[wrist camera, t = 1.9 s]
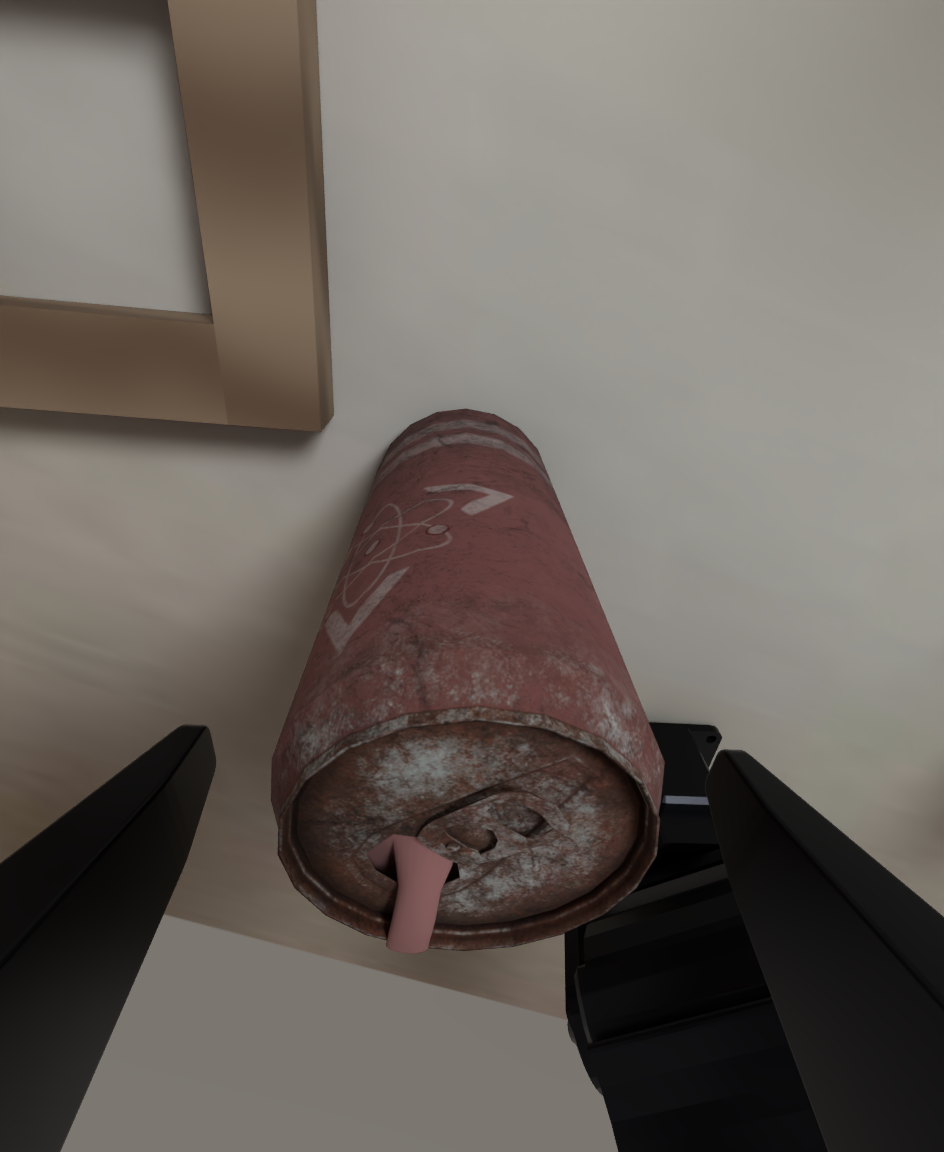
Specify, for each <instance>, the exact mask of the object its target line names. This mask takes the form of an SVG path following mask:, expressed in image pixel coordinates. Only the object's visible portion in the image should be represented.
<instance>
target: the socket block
mask: <svg viewBox="0 0 944 1152" xmlns="http://www.w3.org/2000/svg"><path fill="white" fill-rule="evenodd" d="M168 7H169V14H170V21H171V28H172V35H173V42H174V49H175V56H176V63H177V70H178V77H179V84H180V91H181V98H182V105H183V112H184V119H185V126H186V133H187V140H188V147H189V154H190V161H191V168H192V175H193V182H194V189H195V196H196V203H197V210H198V217H199V224H200V231H201V238H202V245H203V252H204V259H205V266H206V273H207V280H208V287H209V294H210V301H211V308H212V315H209V314H198V313H187V312H176V311H165V310H154V309H143V308H132V307H121V306H110V305H99V304H88V303H77V302H66V301H55V300H44V299H33V298H22V297H11V296H0V407H10V408H23V409H35V410H48V411H61V412H74V413H86V414H99V415H112V416H125V417H137V418H150V419H163V420H175V421H188V422H201V423H214V424H226V425H239V426H252V427H265V428H277V429H290V430H303V431H315V432H321V431H322V430H323V429H324V427H325V426H326V425H327V423H328V422H329V421H330V419H331V418H332V417H333V415H334V407H333V384H332V361H331V338H330V314H329V291H328V268H327V245H326V222H325V199H324V175H323V152H322V129H321V106H320V83H319V60H318V36H317V13H316V0H168Z"/></svg>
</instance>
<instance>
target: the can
mask: <svg viewBox="0 0 944 1152" xmlns="http://www.w3.org/2000/svg"><path fill="white" fill-rule="evenodd" d="M664 764H665V762H664V759H663V757H662V754H661V752H660V749H659V747H658V744H657V742H656V740H655V737H654V735H653V732H652V730H651V727H650V725H649V722H648V720H647V717H646V715H645V712H644V710H643V707H642V705H641V703H640V700H639V698H638V695H637V693H636V690H635V688H634V685H633V683H632V680H631V678H630V675H629V673H628V671H627V668H626V666H625V663H624V661H623V658H622V656H621V653H620V651H619V648H618V646H617V643H616V641H615V639H614V636H613V634H612V631H611V629H610V626H609V624H608V621H607V619H606V616H605V614H604V611H603V609H602V607H601V604H600V602H599V599H598V597H597V594H596V592H595V589H594V587H593V584H592V582H591V579H590V577H589V575H588V572H587V570H586V567H585V565H584V562H583V560H582V557H581V555H580V552H579V550H578V547H577V545H576V543H575V540H574V538H573V535H572V533H571V530H570V528H569V525H568V523H567V520H566V518H565V515H564V513H563V510H562V508H561V506H560V503H559V501H558V498H557V496H556V493H555V491H554V488H553V486H552V483H551V481H550V478H549V476H548V474H547V471H546V469H545V466H544V464H543V461H542V459H541V456H540V454H539V451H538V449H537V448H536V447H535V446H534V445H533V443H532V442H531V441H530V440H529V439H528V438H527V437H526V435H525V434H524V433H523V432H522V431H521V430H520V429H519V428H518V427H516V426H514V425H512V424H511V423H509V422H507V421H505V420H504V419H502V418H500V417H498V416H496V415H495V414H490V413H485V412H480V411H475V410H470V409H459V410H451V411H443V412H436V413H434V414H432V415H430V416H428V417H426V418H424V419H422V420H419V421H417V422H415V423H413V424H411V425H410V426H409V427H408V428H407V429H406V430H405V431H404V432H403V433H402V434H401V435H400V436H399V437H397V438H396V439H395V440H394V441H393V442H392V443H391V444H390V446H389V448H388V450H387V452H386V454H385V457H384V459H383V461H382V463H381V465H380V467H379V469H378V471H377V474H376V477H375V480H374V482H373V485H372V488H371V491H370V493H369V496H368V499H367V501H366V504H365V507H364V510H363V512H362V515H361V518H360V520H359V523H358V526H357V529H356V531H355V534H354V537H353V539H352V542H351V545H350V548H349V550H348V553H347V556H346V558H345V561H344V564H343V567H342V569H341V572H340V575H339V577H338V580H337V583H336V586H335V588H334V591H333V594H332V596H331V599H330V602H329V605H328V607H327V610H326V613H325V615H324V618H323V621H322V624H321V626H320V629H319V632H318V634H317V637H316V640H315V643H314V645H313V648H312V651H311V653H310V656H309V659H308V662H307V664H306V667H305V670H304V672H303V675H302V678H301V681H300V683H299V686H298V689H297V691H296V694H295V697H294V700H293V702H292V705H291V708H290V710H289V713H288V716H287V719H286V721H285V724H284V727H283V729H282V732H281V735H280V738H279V740H278V743H277V746H276V748H275V751H274V754H273V757H272V778H271V802H272V806H273V810H274V813H275V817H276V821H277V825H278V856H279V858H280V860H281V862H282V864H283V866H284V868H285V870H286V872H287V874H288V876H289V878H290V880H291V882H292V884H293V886H294V888H295V889H296V890H297V891H299V892H300V893H301V894H302V895H303V896H304V897H305V898H306V899H308V900H309V901H310V902H311V903H312V904H313V905H314V906H316V907H317V908H318V909H319V910H320V911H321V912H322V913H324V914H325V915H326V916H328V917H330V918H332V919H334V920H336V921H338V922H340V923H342V924H344V925H347V926H349V927H351V928H353V929H355V930H357V931H359V932H361V933H363V934H365V935H368V936H372V937H376V938H380V939H384V940H387V942H386V945H387V947H388V948H389V949H391V950H393V951H396V952H399V953H407V954H414V953H421V952H424V951H426V950H427V948H432V949H445V950H459V951H468V950H480V949H492V948H504V947H514V946H518V945H522V944H526V943H530V942H534V941H538V940H542V939H546V938H550V937H554V936H558V935H562V934H564V933H566V932H568V931H570V930H572V929H574V928H576V927H579V926H581V925H583V924H585V923H587V922H589V921H591V920H594V919H596V918H598V917H600V916H602V915H604V914H605V913H606V912H608V911H609V910H610V909H611V908H612V907H614V906H615V905H616V904H617V903H619V902H620V901H621V900H622V899H624V898H625V897H626V896H627V895H629V894H630V893H631V892H632V891H634V890H635V889H636V888H637V886H638V885H639V883H640V882H641V880H642V878H643V877H644V875H645V874H646V872H647V870H648V869H649V867H650V866H651V864H652V862H653V861H654V859H655V858H656V856H657V847H658V837H659V826H660V817H659V815H658V813H659V809H660V804H661V795H662V785H663V775H664Z"/></svg>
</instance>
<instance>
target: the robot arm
mask: <svg viewBox="0 0 944 1152" xmlns="http://www.w3.org/2000/svg"><path fill="white" fill-rule="evenodd" d="M649 725H650V727H651V730H652V732H653V735H654V737H655V740H656V742H657V744H658V747H659V749H660V752H661V754H662V757H663V759H664V762H665V764H664V775H663V785H662V795H661V804H660V809H659V813H658V815H659V817H660V826H659V837H658V847H657V856H656V858H655V859H654V861H653V862H652V864H651V866H650V867H649V869H648V870H647V872H646V874H645V875H644V877H643V878H642V880H641V882H640V883H639V885H638V886H637V888H636V889H635V890H634V891H632V892H631V893H630V894H629V895H627V896H626V897H625V898H624V899H622V900H621V901H620V902H619V903H617V904H616V905H615V906H614V907H612V908H611V909H610V910H609V911H608V912H606V913H605V914H604V915H602V916H600V917H598V918H596V919H594V920H591V921H589V922H587V923H585V924H583V925H581V926H579V927H576V928H574V929H572V930H570V931H568V932H566V933H565V995H566V1014H567V1018H568V1031H569V1035H570V1037H571V1040H572V1042H573V1043H575V1044H576V1045H577V1047H578V1050H579V1053H580V1056H581V1059H582V1061H583V1064H584V1067H585V1069H586V1071H587V1073H588V1075H589V1077H590V1079H591V1081H592V1083H593V1084H594V1086H595V1088H596V1089H597V1090H598V1091H599V1092H600V1093H601V1094H602V1095H603V1097H604V1100H605V1104H606V1107H607V1110H608V1114H609V1117H610V1120H611V1124H612V1128H613V1132H614V1136H615V1140H616V1144H617V1148H618V1152H944V917H943V916H942V915H941V914H940V913H938V912H937V911H936V910H935V909H934V908H932V907H931V906H930V905H929V904H928V903H926V902H925V901H924V900H923V899H922V898H921V897H919V896H918V895H917V894H916V893H915V892H913V891H912V890H911V889H910V888H909V887H907V886H906V885H905V884H904V883H903V882H901V881H900V880H899V879H898V878H897V877H895V876H894V875H893V874H892V873H891V872H889V871H888V870H887V869H886V868H885V867H883V866H882V865H881V864H880V863H879V862H877V861H876V860H875V859H874V858H873V857H871V856H870V855H869V854H868V853H867V852H865V851H864V850H863V849H862V848H861V847H859V846H858V845H857V844H856V843H855V842H853V841H852V840H851V839H850V838H849V837H848V836H846V835H845V834H844V833H843V832H842V831H840V830H839V829H838V828H837V827H836V826H834V825H833V824H832V823H831V822H830V821H828V820H827V819H826V818H825V817H824V816H822V815H821V814H820V813H819V812H818V811H816V810H815V809H814V808H813V807H812V806H810V805H809V804H808V803H807V802H806V801H804V800H803V799H802V798H801V797H800V796H798V795H797V794H796V793H795V792H794V791H792V790H791V789H790V788H789V787H788V786H786V785H785V784H784V783H783V782H782V781H780V780H779V779H778V778H777V777H776V776H775V775H773V774H772V773H771V772H770V771H769V770H767V769H766V768H765V767H764V766H763V765H761V764H760V763H759V762H758V761H757V760H755V759H754V758H753V757H752V756H751V755H749V754H748V753H747V752H745V751H742V750H728V749H724V750H721V751H720V752H718V754H717V756H716V758H715V760H714V762H713V765H712V767H711V769H710V770H709V766H710V763H711V761H712V759H713V757H714V755H715V752H716V750H717V748H718V746H719V744H720V741H721V739H722V736H721V734H720V732H719V730H718V729H717V728H716V727H715V726H711V725H690V724H669V723H649ZM215 768H216V756H215V751H214V747H213V742H212V738H211V733H210V730H209V728H208V727H207V726H204V725H188V724H186V725H182V726H180V727H178V728H176V729H175V730H174V731H173V732H171V733H170V734H169V735H167V736H166V737H165V738H163V739H162V740H161V741H159V742H158V743H157V744H156V745H154V746H153V747H152V748H150V749H149V750H148V751H146V752H145V753H144V754H142V755H141V756H140V757H139V758H137V759H136V760H135V761H133V762H132V763H131V764H129V765H128V766H127V767H125V768H124V769H123V770H122V771H120V772H119V773H118V774H116V775H115V776H114V777H112V778H111V779H110V780H108V781H107V782H106V783H105V784H103V785H102V786H101V787H99V788H98V789H97V790H95V791H94V792H93V793H91V794H90V795H89V796H88V797H86V798H85V799H84V800H82V801H81V802H80V803H78V804H77V805H76V806H74V807H73V808H72V809H71V810H69V811H68V812H67V813H65V814H64V815H63V816H61V817H60V818H59V819H57V820H56V821H55V822H54V823H52V824H51V825H50V826H48V827H47V828H46V829H44V830H43V831H42V832H40V833H39V834H38V835H37V836H35V837H34V838H33V839H31V840H30V841H29V842H27V843H26V844H25V845H23V846H22V847H21V848H20V849H18V850H17V851H16V852H14V853H13V854H12V855H10V856H9V857H8V858H6V859H5V860H4V861H3V862H1V863H0V1152H60V1151H61V1149H62V1147H63V1144H64V1142H65V1140H66V1137H67V1135H68V1133H69V1131H70V1128H71V1126H72V1124H73V1121H74V1119H75V1117H76V1114H77V1112H78V1110H79V1108H80V1105H81V1103H82V1100H83V1098H84V1096H85V1094H86V1091H87V1089H88V1087H89V1084H90V1082H91V1080H92V1078H93V1075H94V1073H95V1070H96V1068H97V1066H98V1064H99V1061H100V1059H101V1057H102V1055H103V1052H104V1050H105V1048H106V1045H107V1043H108V1041H109V1039H110V1036H111V1034H112V1032H113V1029H114V1027H115V1025H116V1022H117V1020H118V1018H119V1016H120V1013H121V1011H122V1008H123V1006H124V1004H125V1002H126V999H127V997H128V995H129V992H130V990H131V988H132V985H133V983H134V981H135V978H136V976H137V974H138V972H139V969H140V967H141V965H142V963H143V960H144V958H145V956H146V953H147V951H148V949H149V946H150V944H151V942H152V940H153V937H154V935H155V933H156V930H157V928H158V925H159V923H160V921H161V919H162V917H163V914H164V912H165V910H166V907H167V905H168V903H169V900H170V898H171V896H172V894H173V891H174V889H175V887H176V884H177V882H178V880H179V877H180V875H181V873H182V870H183V868H184V865H185V863H186V860H187V857H188V854H189V851H190V849H191V846H192V842H193V839H194V836H195V833H196V830H197V827H198V823H199V820H200V817H201V814H202V811H203V807H204V804H205V801H206V798H207V795H208V792H209V788H210V785H211V782H212V779H213V776H214V772H215Z"/></svg>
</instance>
